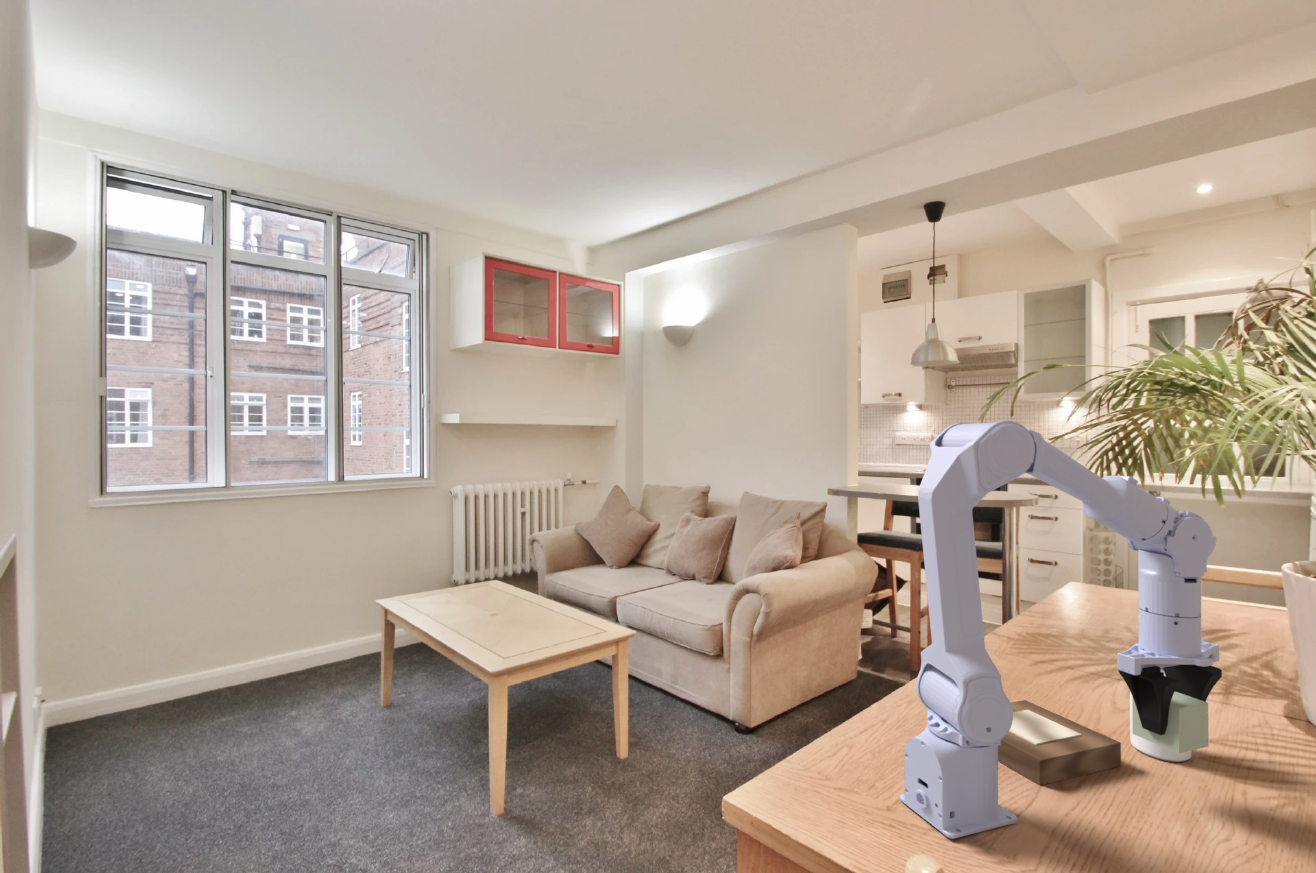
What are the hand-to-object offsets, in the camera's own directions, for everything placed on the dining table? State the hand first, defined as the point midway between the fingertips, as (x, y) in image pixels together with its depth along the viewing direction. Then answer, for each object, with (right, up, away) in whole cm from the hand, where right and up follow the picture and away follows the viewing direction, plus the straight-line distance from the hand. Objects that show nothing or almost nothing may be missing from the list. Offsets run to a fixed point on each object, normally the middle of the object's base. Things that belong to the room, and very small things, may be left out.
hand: (1169, 727), depth 73 cm
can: (+8, -9, +11) cm, 16 cm away
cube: (0, -1, 0) cm, 1 cm away
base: (-9, -8, +12) cm, 17 cm away
